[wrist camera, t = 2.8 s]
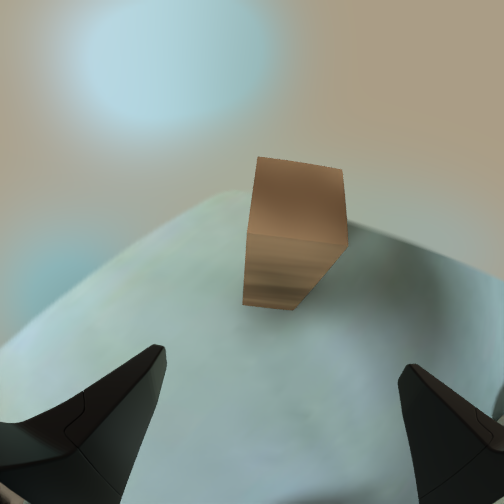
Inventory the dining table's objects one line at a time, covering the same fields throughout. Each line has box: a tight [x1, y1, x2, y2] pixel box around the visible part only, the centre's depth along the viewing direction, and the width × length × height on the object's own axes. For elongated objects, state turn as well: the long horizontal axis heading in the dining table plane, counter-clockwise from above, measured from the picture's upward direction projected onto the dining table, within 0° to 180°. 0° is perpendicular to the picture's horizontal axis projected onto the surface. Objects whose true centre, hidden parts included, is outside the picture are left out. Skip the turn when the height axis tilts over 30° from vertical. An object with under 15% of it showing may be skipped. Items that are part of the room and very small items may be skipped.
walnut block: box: [242, 157, 348, 310], centre depth 18 cm, size 4×4×13 cm
